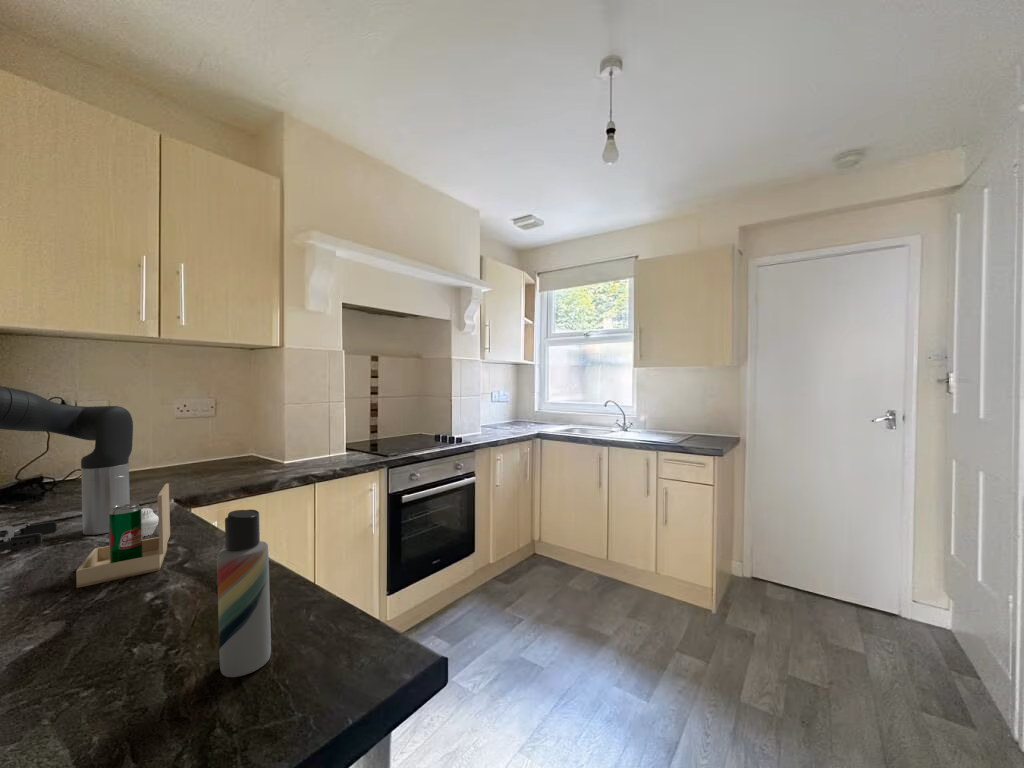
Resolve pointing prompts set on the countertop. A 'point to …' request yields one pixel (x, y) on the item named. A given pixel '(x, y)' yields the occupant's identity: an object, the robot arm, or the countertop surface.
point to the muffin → (148, 521)
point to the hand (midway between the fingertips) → (49, 532)
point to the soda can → (125, 533)
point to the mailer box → (153, 556)
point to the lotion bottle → (243, 596)
